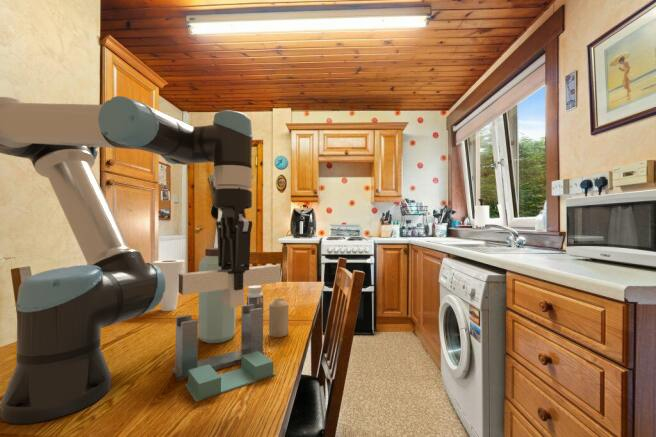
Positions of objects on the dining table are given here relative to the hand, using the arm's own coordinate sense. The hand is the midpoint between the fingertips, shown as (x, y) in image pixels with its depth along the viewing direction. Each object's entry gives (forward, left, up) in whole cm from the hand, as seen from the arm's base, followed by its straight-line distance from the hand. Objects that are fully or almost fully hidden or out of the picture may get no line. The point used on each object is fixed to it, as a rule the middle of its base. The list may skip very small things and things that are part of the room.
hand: (232, 303), depth 64 cm
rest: (0, 0, -16) cm, 16 cm away
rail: (0, 0, +3) cm, 3 cm away
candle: (+21, +18, -16) cm, 32 cm away
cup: (+2, +67, -16) cm, 69 cm away
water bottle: (+6, +26, -16) cm, 31 cm away
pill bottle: (+24, +40, -16) cm, 49 cm away
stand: (+1, +9, -16) cm, 18 cm away
